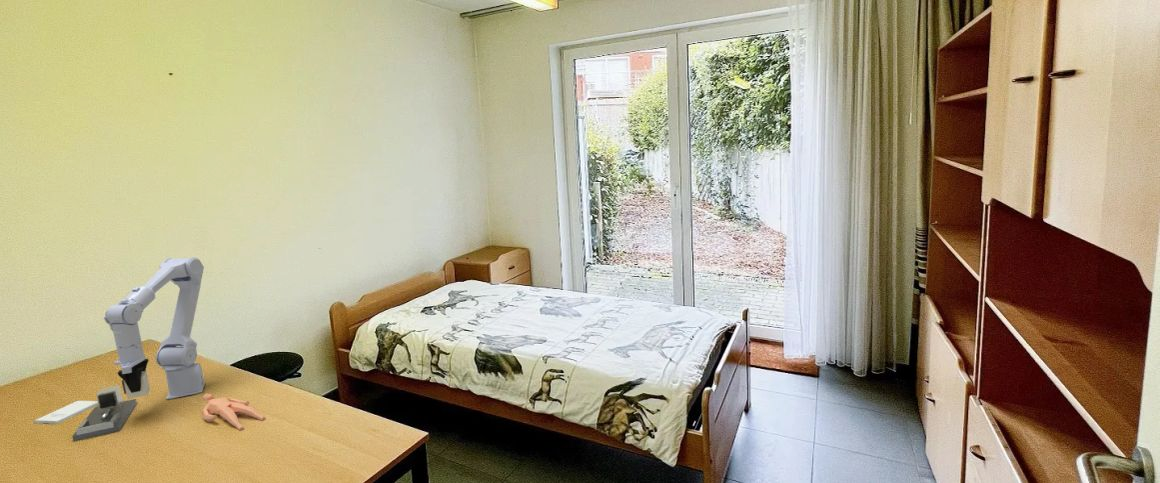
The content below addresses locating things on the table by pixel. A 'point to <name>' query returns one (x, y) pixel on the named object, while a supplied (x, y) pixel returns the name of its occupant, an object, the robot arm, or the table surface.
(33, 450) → the table surface
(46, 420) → the external hard drive
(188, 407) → the table surface
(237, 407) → the male figurine
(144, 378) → the white cube grey lid
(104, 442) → the table surface
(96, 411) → the grey metal base
